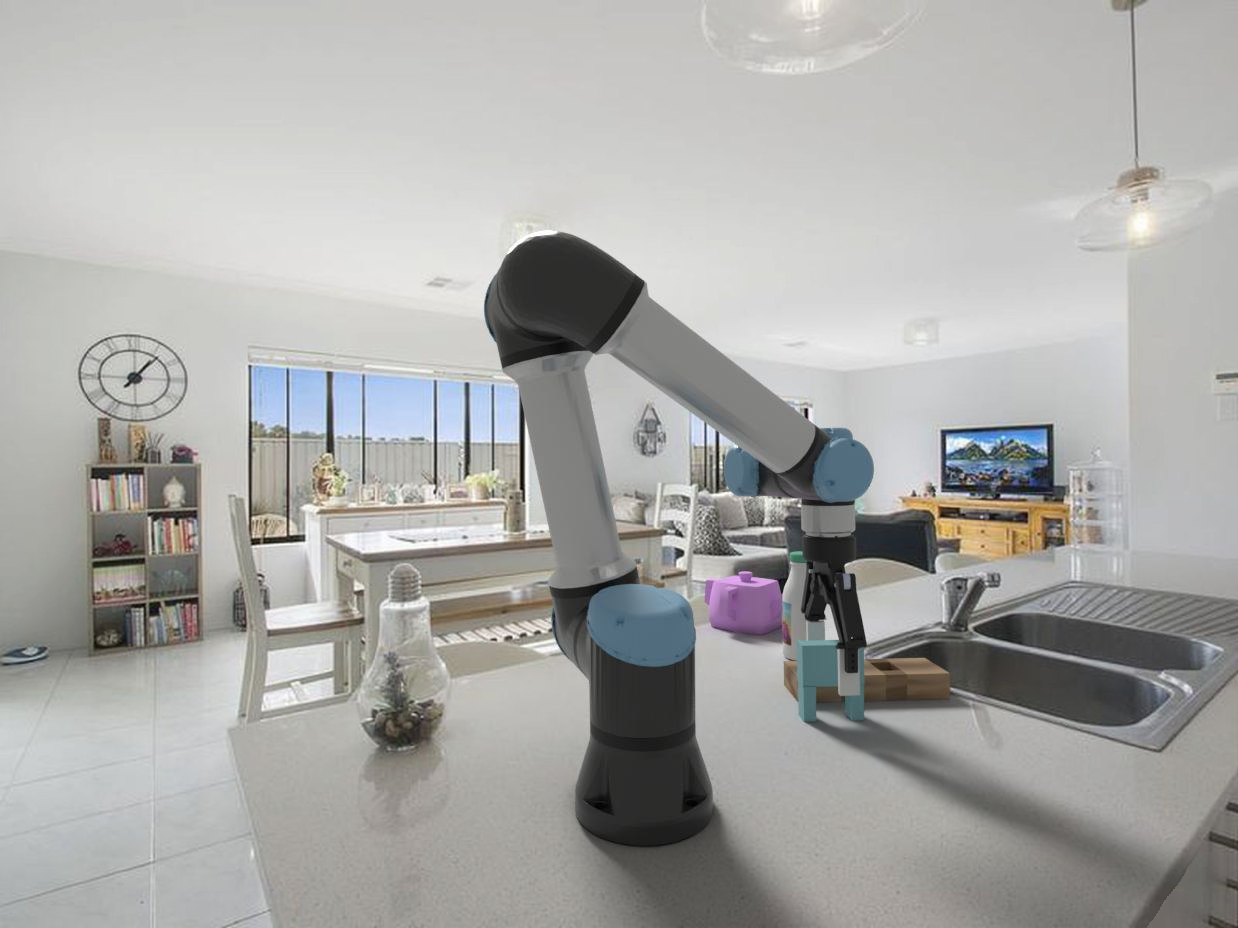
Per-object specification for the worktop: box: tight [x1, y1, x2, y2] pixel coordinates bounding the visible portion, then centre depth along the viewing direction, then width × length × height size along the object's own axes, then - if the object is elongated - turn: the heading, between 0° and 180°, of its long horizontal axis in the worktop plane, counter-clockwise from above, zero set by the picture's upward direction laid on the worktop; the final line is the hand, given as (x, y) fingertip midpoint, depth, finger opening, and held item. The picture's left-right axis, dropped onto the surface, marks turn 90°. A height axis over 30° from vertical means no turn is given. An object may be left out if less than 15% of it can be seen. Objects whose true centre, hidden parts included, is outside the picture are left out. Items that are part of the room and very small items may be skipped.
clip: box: [797, 639, 865, 723], centre depth 95 cm, size 3×9×11 cm, turn 92°
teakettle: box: [703, 570, 783, 636], centre depth 148 cm, size 17×17×12 cm
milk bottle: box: [781, 550, 825, 661], centre depth 125 cm, size 8×8×20 cm
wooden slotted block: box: [783, 657, 951, 703], centre depth 106 cm, size 8×24×4 cm, turn 91°
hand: (831, 677), depth 96 cm, fingers open, 13 cm apart
